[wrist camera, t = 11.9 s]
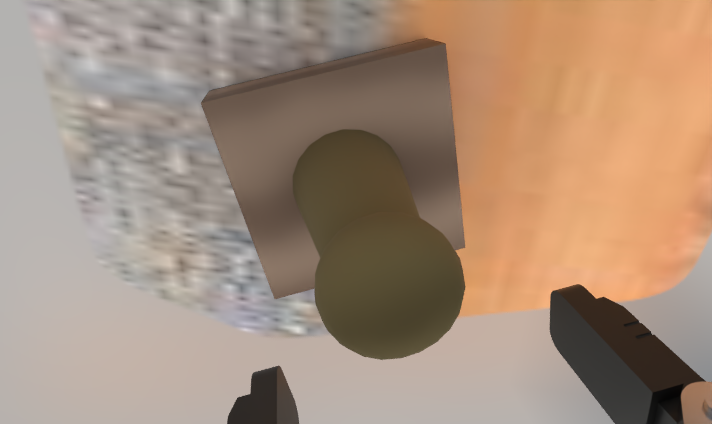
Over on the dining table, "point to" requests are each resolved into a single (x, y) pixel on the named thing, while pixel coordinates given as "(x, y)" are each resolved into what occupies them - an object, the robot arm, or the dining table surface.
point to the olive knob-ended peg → (374, 249)
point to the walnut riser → (326, 115)
